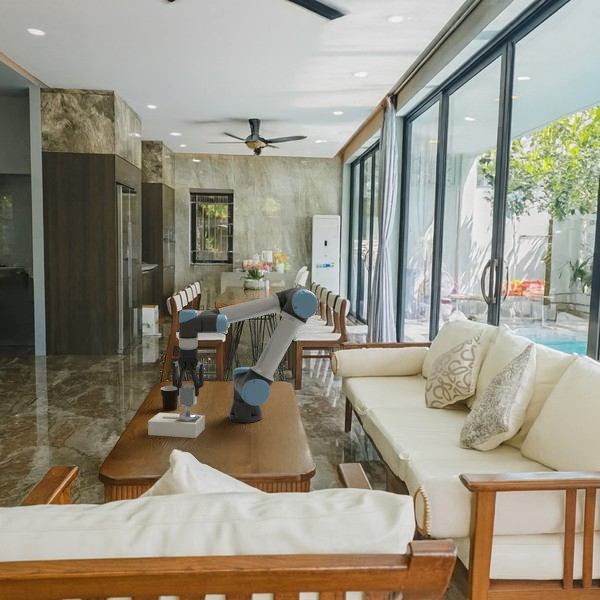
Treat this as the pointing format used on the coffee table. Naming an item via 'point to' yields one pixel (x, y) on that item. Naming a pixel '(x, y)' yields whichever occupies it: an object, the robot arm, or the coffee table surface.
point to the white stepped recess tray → (175, 426)
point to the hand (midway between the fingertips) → (188, 403)
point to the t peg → (187, 403)
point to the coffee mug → (169, 398)
